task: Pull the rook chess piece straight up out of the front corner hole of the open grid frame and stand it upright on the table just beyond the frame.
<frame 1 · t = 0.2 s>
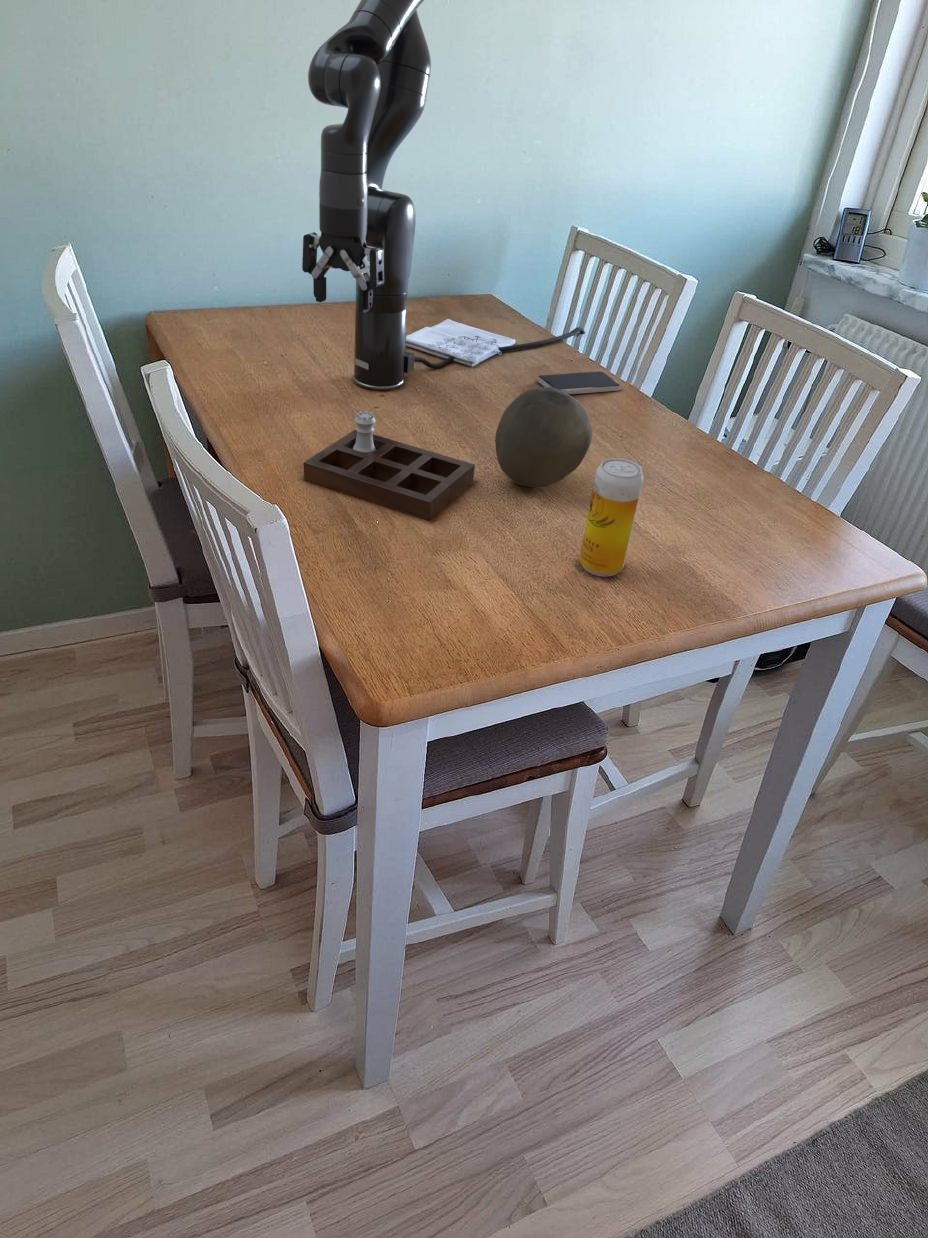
hand: (342, 306, 149), 17 cm above the table, tool pointing down, fingers open, 8 cm apart
smartphone: (578, 386, 177), on the table
cantaloupe: (535, 483, 141), on the table
white paper booklet: (459, 346, 190), on the table
rook chess piece: (364, 462, 141), resting in open grid frame
beer can: (600, 567, 122), on the table
open grid frame: (389, 480, 137), on the table
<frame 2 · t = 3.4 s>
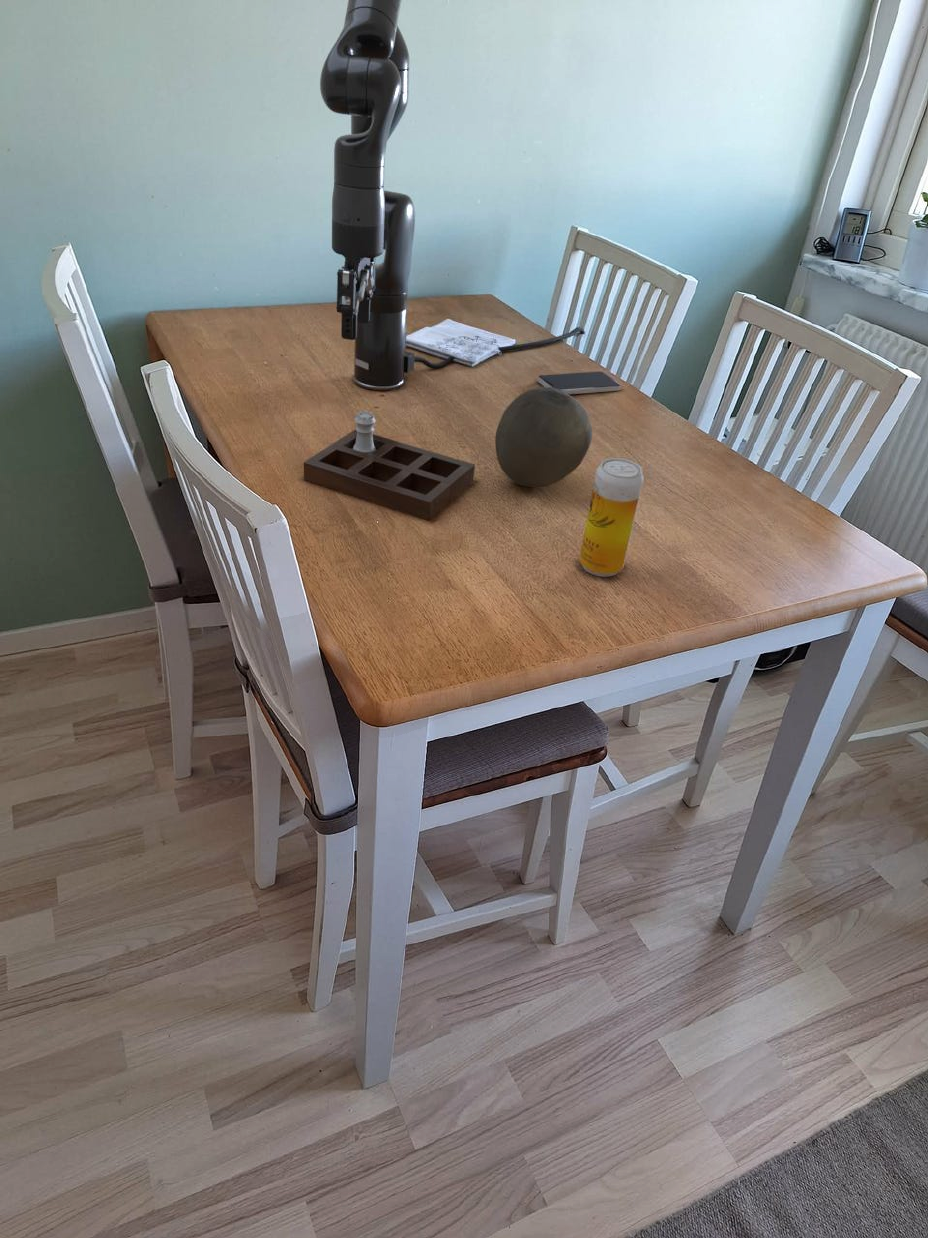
hand: (355, 330, 138), 18 cm above the table, tool pointing down, fingers open, 8 cm apart
nothing on the table moved.
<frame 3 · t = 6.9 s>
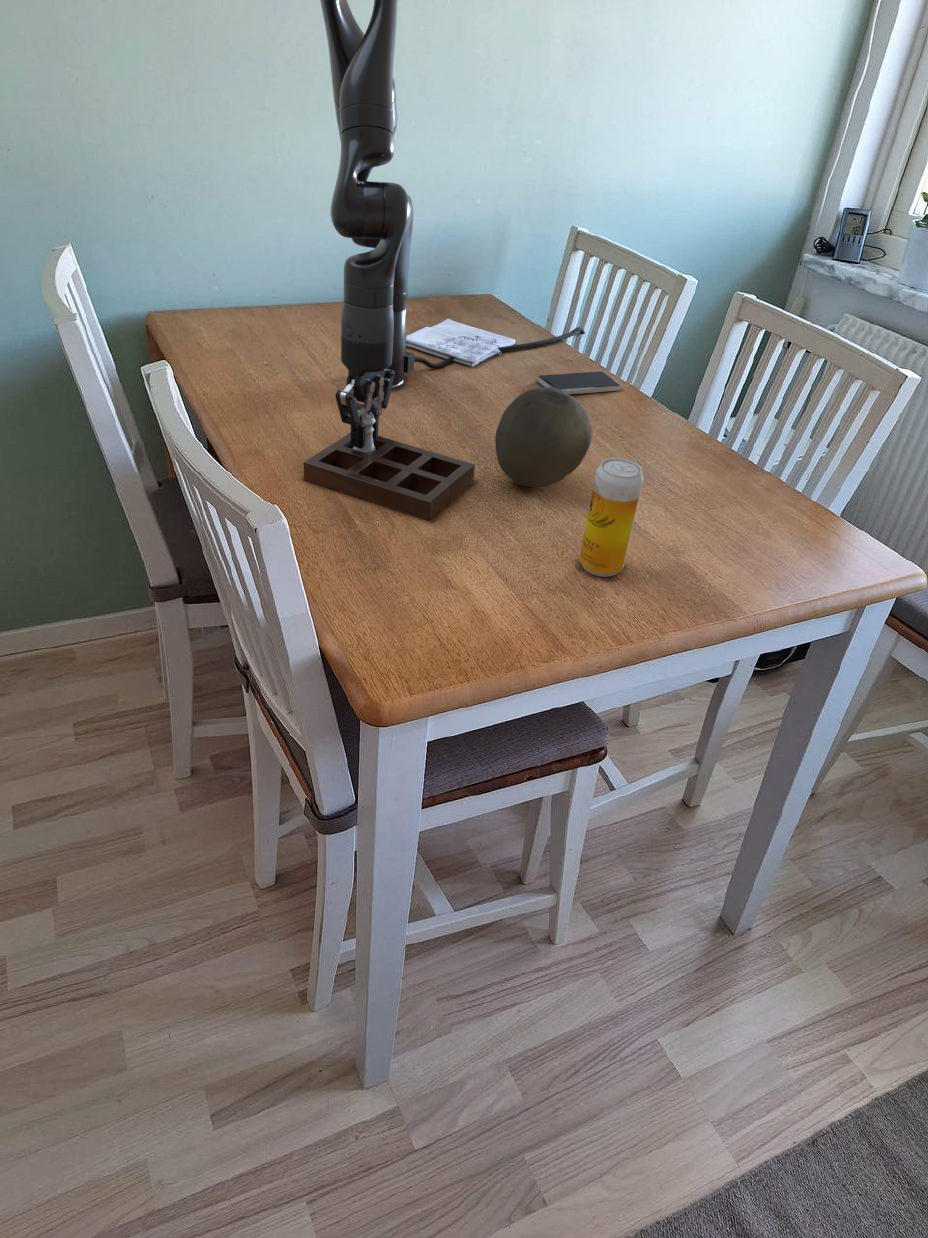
hand: (364, 441, 139), 3 cm above the table, tool pointing down, fingers closed on rook chess piece, 3 cm apart
rook chess piece: (364, 462, 141), resting in open grid frame, touching gripper
everything else where it was.
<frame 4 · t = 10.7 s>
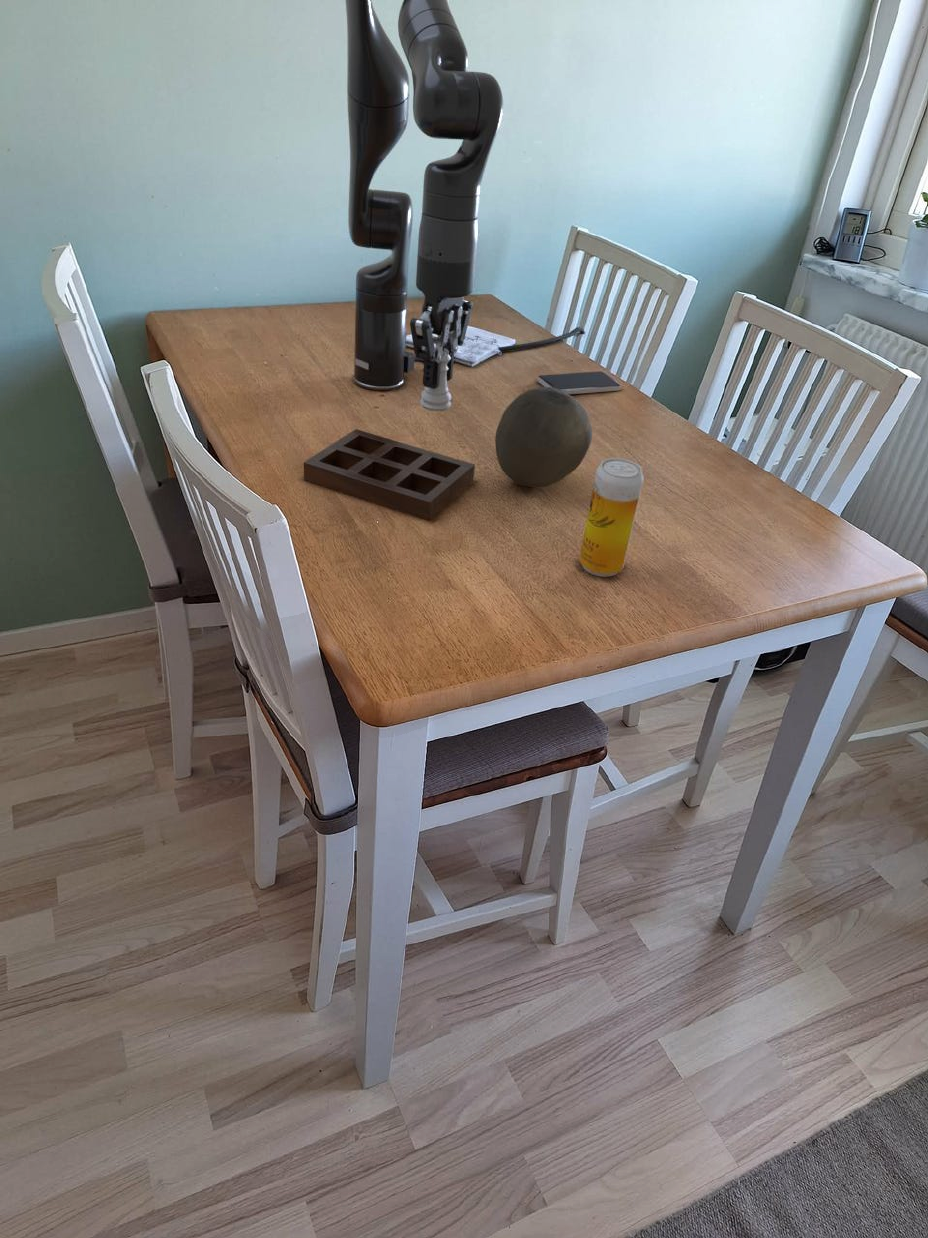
hand: (437, 382, 124), 18 cm above the table, tool pointing down, fingers closed on rook chess piece, 3 cm apart
rook chess piece: (435, 407, 126), point 14 cm above the table, touching gripper
everything else where it was.
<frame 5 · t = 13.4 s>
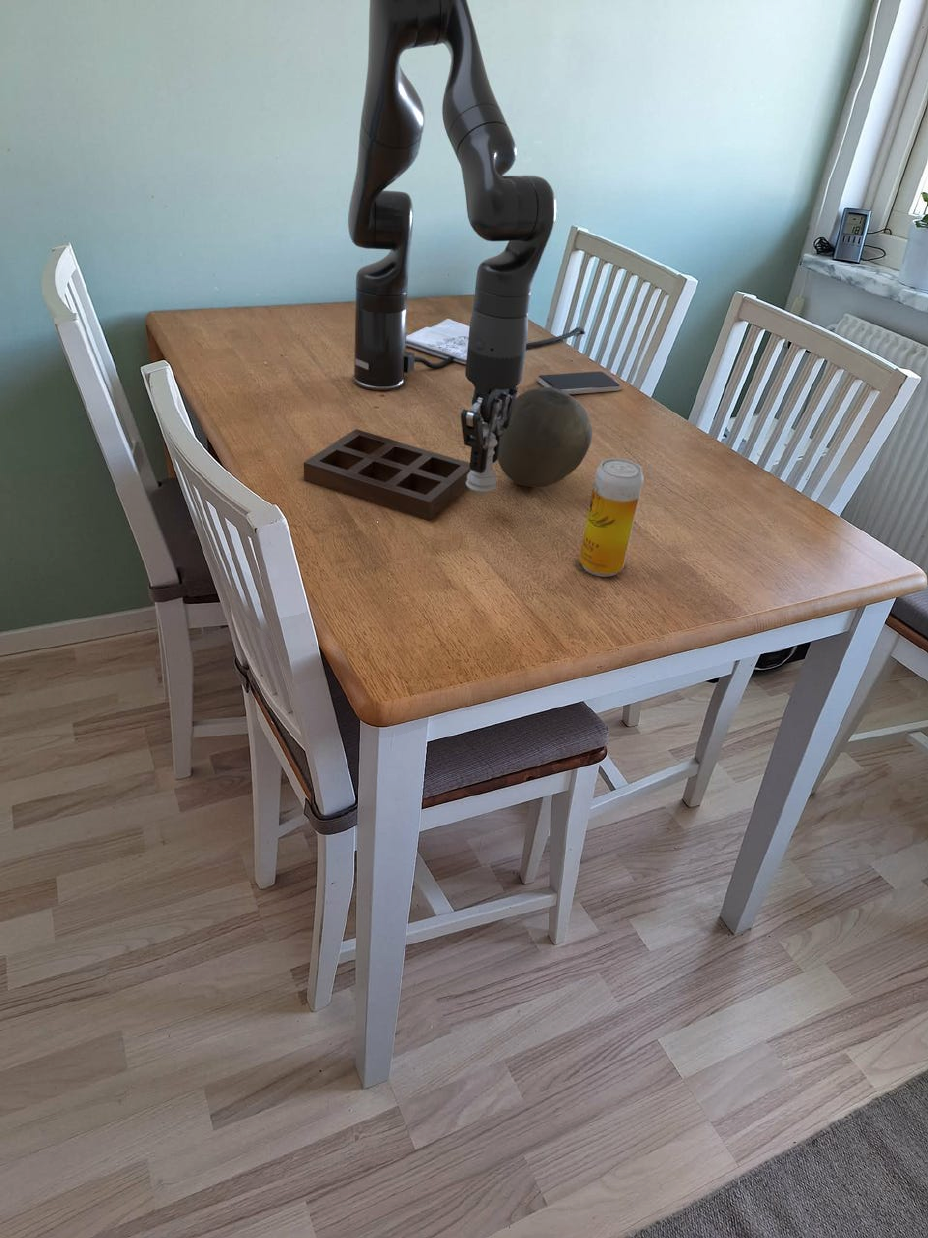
hand: (483, 465, 126), 8 cm above the table, tool pointing down, fingers closed on rook chess piece, 3 cm apart
rook chess piece: (480, 488, 128), point 5 cm above the table, touching gripper
everything else where it was.
when the fingers open (3 cm above the table, at t = 14.9 s): rook chess piece stays where it is, on the table.
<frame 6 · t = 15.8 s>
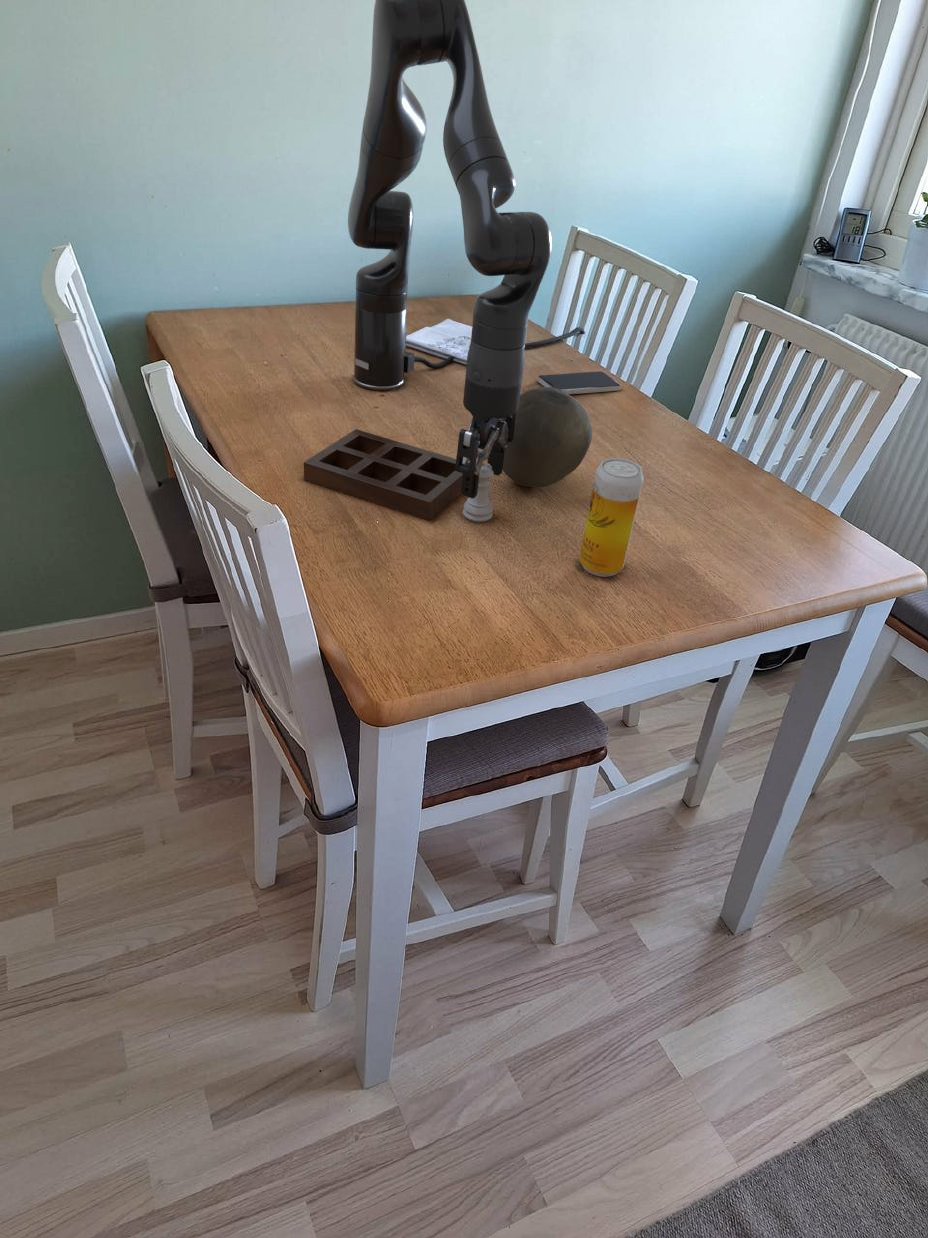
hand: (481, 484, 127), 5 cm above the table, tool pointing down, fingers open, 8 cm apart
rook chess piece: (477, 516, 131), on the table
everything else where it was.
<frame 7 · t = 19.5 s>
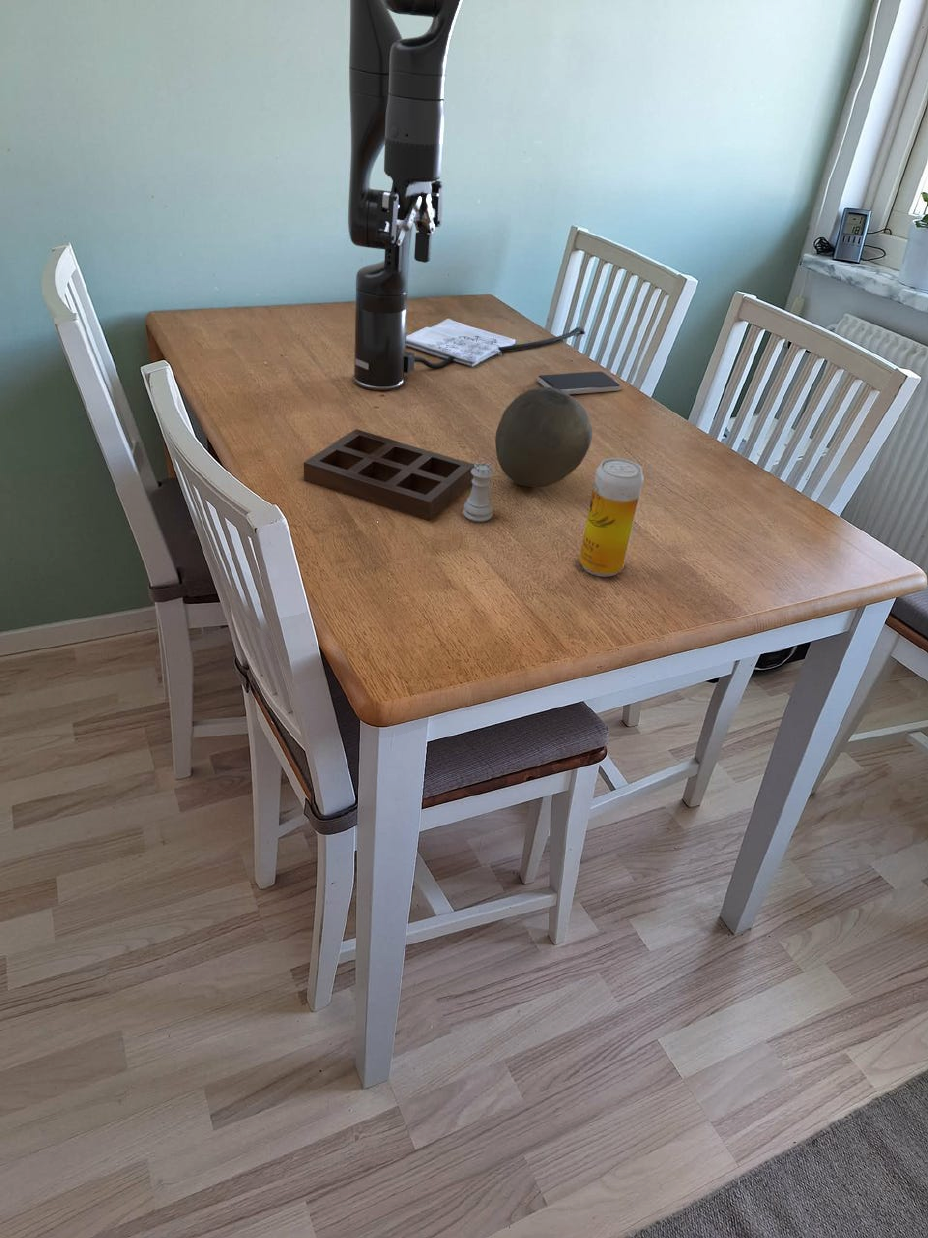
hand: (407, 266, 124), 30 cm above the table, tool pointing down, fingers open, 8 cm apart
nothing on the table moved.
at the end: rook chess piece inside the target area (0.1 cm from its centre), on the table; rook chess piece tilted 0°; rook chess piece touching table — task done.
